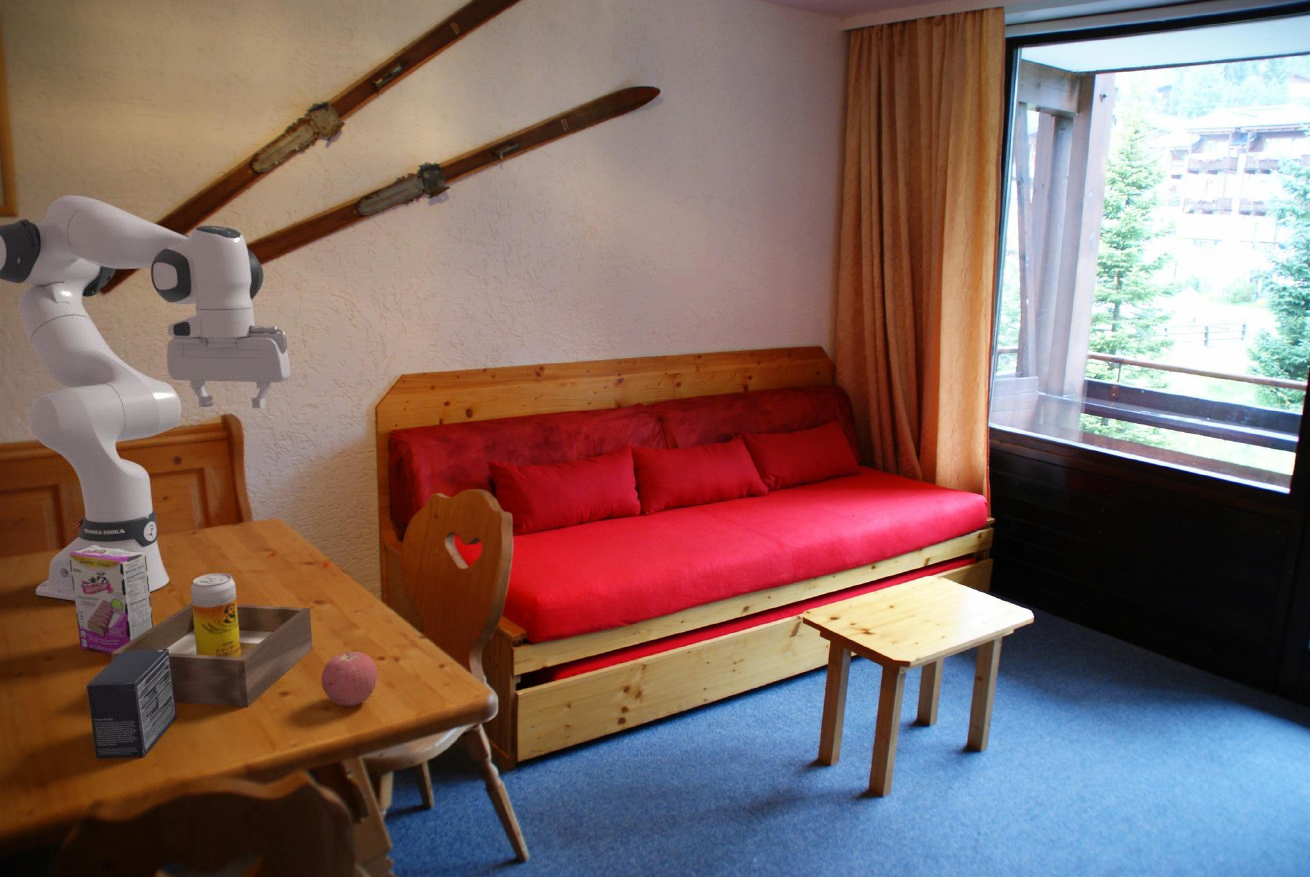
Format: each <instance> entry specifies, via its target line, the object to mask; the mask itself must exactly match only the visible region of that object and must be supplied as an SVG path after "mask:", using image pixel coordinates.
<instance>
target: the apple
mask: <svg viewBox="0 0 1310 877" xmlns="http://www.w3.org/2000/svg"><path fill="white" fill-rule="evenodd" d="M377 671H378V669H377V665H376V663H375V661H374V659H372V657H371V656H369V655H367V654H366V653H364V652H363V653H362V652H360V651H349V652H347V651H345V652H344V653H339V654H338V655H335V656H334V657H332V658H331V659H329V661H328V662H327V663H326V664H325V666H324V668H323V670H322V673H321V686H322V689H323V691H324V692H325V694H326V695H327V697H328V698H329V699H330V700H331V701H333V702H334V703H335V704H337V705H340V706H343V707H352V706H356V705H360V704H362V703H364V702H365V701H366V700H367V699H368V698H369V697H370V696H371V694H372V693H373V692H374V689H375V687H376V685H377V681H378V672H377Z"/></svg>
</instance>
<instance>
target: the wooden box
mask: <svg viewBox="0 0 1310 877" xmlns="http://www.w3.org/2000/svg"><path fill="white" fill-rule="evenodd" d="M237 613H238V625H239V638H240V650H241V657H227V656H210V655H197V652H196V642H195V631H194V620H193V609H192V602H190V603H189V604H187V605H186V606H183V607H182V608H181V609H179V610H178V611H176V612H175V613H173V614H171V615H169V617H167V618H165V619H164V620H162V621H160V622H159V623H157V624H155V625H153V627H152V628H151V629H149V630H147V631H146V632H144V633H143V634H141V635H139V636H138V637H136V638H135V639H133V640H131V641H130V642H128V643H127V644H125V645H123V646H122V647H120V648H119V649H117V650H115V651H114V652H112V653H111V654H110V655H111V660H112V661H113V660H114V659H115V658H116V657H117V656H118V655H119V654H121V653H122V652H123V651H129V650H150V649H169V657H170V667H171V675H172V685H173V694H174V701H175V703H184V704H198V705H199V704H200V705H213V706H214V705H217V706H231V707H246V708H248V707H250V706H251V705H252V704H253V703H254V702H255V701H256V700H257V699H259V697H261V696H262V695H263V694H264V693H265V692H266V691H268V689H269V688H271V687H272V686H273V685H274V684H275V683H277V682H278V680H280V679H281V678H282V677H283V676H285V675H286V673H287V672H289V671H290V670H291V669H292V668H293V667H294V666H295V665H296V664H297V663H299V662H300V661H301V660H302V659H303V658H304V657H305V656H306V655H308V654H309V653H310V652H311V651H312V650H313V636H312V635H313V634H312V621H311V608H310V607H309V608H308V607H294V606H293V607H292V606H275V605H274V606H273V605H253V604H237ZM112 661H111V662H112Z"/></svg>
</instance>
